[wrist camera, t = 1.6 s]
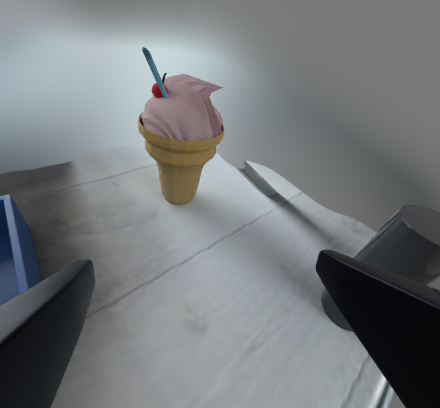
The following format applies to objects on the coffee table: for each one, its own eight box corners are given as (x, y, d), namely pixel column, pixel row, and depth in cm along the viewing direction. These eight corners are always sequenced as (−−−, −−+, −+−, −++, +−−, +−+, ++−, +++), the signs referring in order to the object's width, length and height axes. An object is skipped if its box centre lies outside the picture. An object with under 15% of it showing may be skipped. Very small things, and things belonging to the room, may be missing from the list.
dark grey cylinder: (373, 313, 26) (482, 235, 17) (354, 342, 23) (472, 266, 14) (334, 279, 29) (410, 197, 20) (312, 302, 26) (390, 217, 17)
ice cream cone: (180, 231, 31) (192, 66, 18) (128, 195, 35) (107, 38, 22) (224, 196, 38) (254, 62, 26) (177, 170, 42) (183, 41, 29)
